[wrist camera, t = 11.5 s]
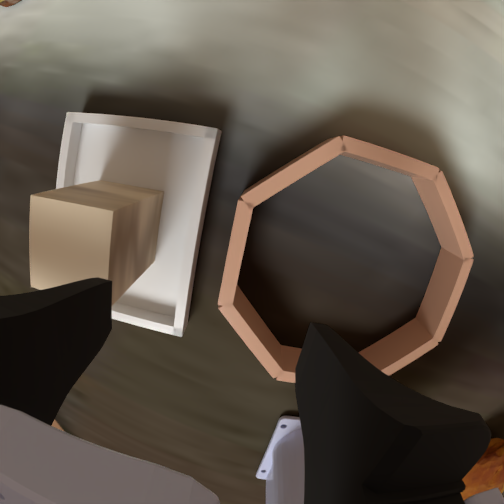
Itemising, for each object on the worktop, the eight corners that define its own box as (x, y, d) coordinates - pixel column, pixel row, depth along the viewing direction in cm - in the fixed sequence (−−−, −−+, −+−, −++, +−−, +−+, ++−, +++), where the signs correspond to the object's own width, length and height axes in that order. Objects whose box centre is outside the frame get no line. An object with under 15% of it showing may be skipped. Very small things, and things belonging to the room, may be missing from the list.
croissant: (476, 481, 29) (494, 517, 21) (386, 507, 29) (398, 553, 22) (522, 413, 25) (551, 452, 17) (425, 443, 25) (450, 499, 18)
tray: (187, 323, 21) (181, 337, 20) (66, 290, 21) (54, 300, 19) (221, 131, 18) (217, 128, 16) (81, 114, 18) (67, 112, 16)
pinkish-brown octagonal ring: (400, 369, 22) (413, 393, 19) (212, 341, 22) (206, 366, 19) (467, 185, 18) (492, 191, 15) (257, 120, 18) (256, 113, 15)
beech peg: (154, 261, 20) (107, 311, 13) (93, 246, 19) (31, 286, 13) (164, 191, 18) (113, 211, 12) (99, 180, 18) (30, 195, 12)
